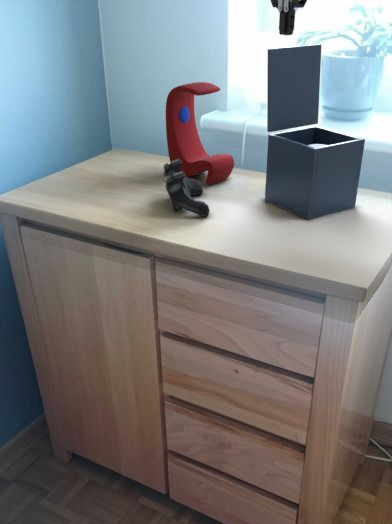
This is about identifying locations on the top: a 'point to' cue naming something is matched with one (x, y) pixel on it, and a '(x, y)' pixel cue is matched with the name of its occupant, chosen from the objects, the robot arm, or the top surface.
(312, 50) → the chest lid
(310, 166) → the chest
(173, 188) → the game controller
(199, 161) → the chair
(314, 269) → the top surface
